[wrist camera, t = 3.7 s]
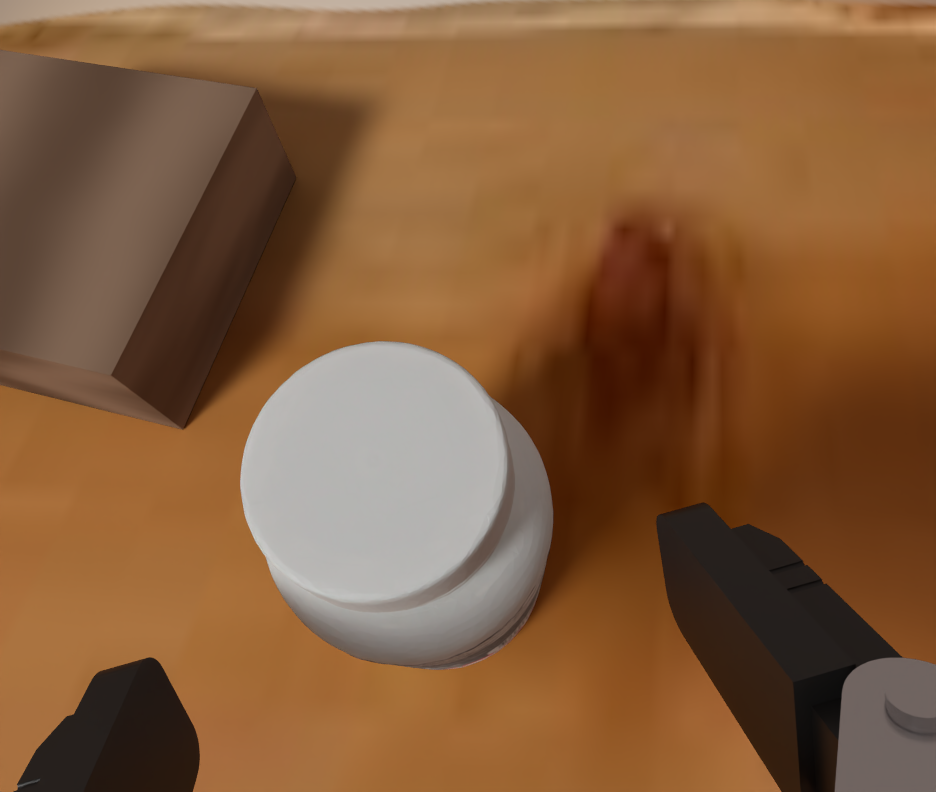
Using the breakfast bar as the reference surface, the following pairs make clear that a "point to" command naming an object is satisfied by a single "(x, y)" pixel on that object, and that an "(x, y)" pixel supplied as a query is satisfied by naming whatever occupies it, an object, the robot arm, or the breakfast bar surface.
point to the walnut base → (127, 229)
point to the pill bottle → (398, 506)
